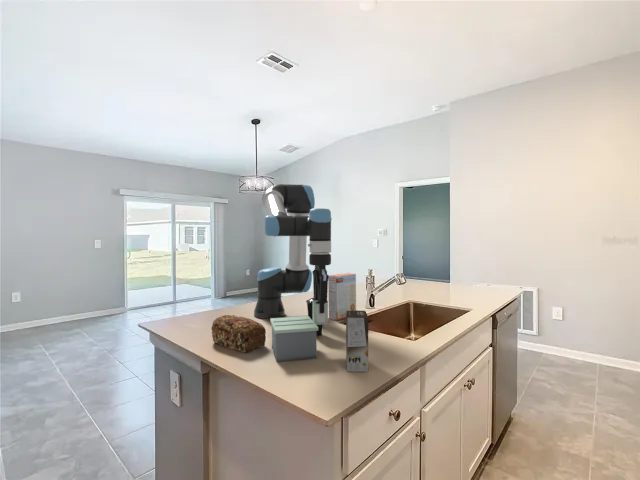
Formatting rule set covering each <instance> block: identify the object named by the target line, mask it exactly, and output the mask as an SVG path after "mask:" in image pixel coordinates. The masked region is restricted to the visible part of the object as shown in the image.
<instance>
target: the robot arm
mask: <svg viewBox="0 0 640 480" xmlns="http://www.w3.org/2000/svg"><path fill="white" fill-rule="evenodd" d="M261 197H262V199H261V200H262V205H263V206H264V208H265V209H266V213H267V215H265V216H264V220H263V222H264V224H263V225H264V226H263V227H264V228H263V229H264V234H265V236H268V237H274V238H275V237H289V241H288V242H289V243H288V263H287V264H286V265H285V269H282V267H279V266H277V267H276V266H275V267H267V268H263V269H260V270H259V271H258V272H257V279H256V281H257V300H256V304H255V307H254V310H253V316H254V317H255V318H258V319H270V318H283V317H284V316H285V314H286V311H285V306H284V304H283V300H282V294H302V293H308V292H309V291H310V289H311V286H312V283H313V286H312V289H313V298H315V301H316V300H318V302H316V304H317V323H320V322H325V303H327V301H328V293H329V289H328V278H329V276H330V275H329V274H328V270H327V269H326V268H327V266H330V265H331V264H332V254H331V252H332V219H333V218H332V212H331V210H330V208H315V194H314V190H313V188H312V186H311V185H307V184H284V183H280V184H279V183H278V184H275V185H272V186H270V187H269V188H267V189H266V190H265V191H264V193H263V194H262V196H261ZM308 237H309V240H307V238H308ZM307 241H309V243H308V244H307ZM307 247H309V253H310V254H309V259H308V261H309V262H308V263H309V265H311V266H314V269H313V270H311V269H310V266H309V265H308V264H307Z"/></svg>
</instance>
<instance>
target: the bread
mask: <svg viewBox="0 0 640 480" xmlns="http://www.w3.org/2000/svg"><path fill="white" fill-rule="evenodd" d="M266 333H267V332H266V327H265V326H264V325H263V324H261V322H257V321H256V320H254V319H251V318H249V317H248V318H247V317H244V316H237V315H234V314H233V315H229V314H225V315H221V316H218V317H216V318H215V320H213V321H212V325H211V334H212V335H211V337H212V341H213V343H214V344H218V345H220V346H221V347H224V348H227V349H230V350H233V351H237V352H241V353H243V354H245V353H249V352H250V353H251V352H253V351H254V350H255V349H256V350H257V349H261V348H263V347H265V345H266V341H267V340H266V338H267V336H266V335H267V334H266Z"/></svg>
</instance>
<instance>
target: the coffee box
mask: <svg viewBox="0 0 640 480" xmlns="http://www.w3.org/2000/svg"><path fill="white" fill-rule="evenodd" d="M345 326H346V328H345V345H346V347H345V351H346V352H345V358H346V359H345V362H346V370H347V372H355V373H359V372H362V373H363V372H364V373H368V372H369V316H368V314H367V311H366V310H357V309H356V311H346V318H345Z"/></svg>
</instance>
